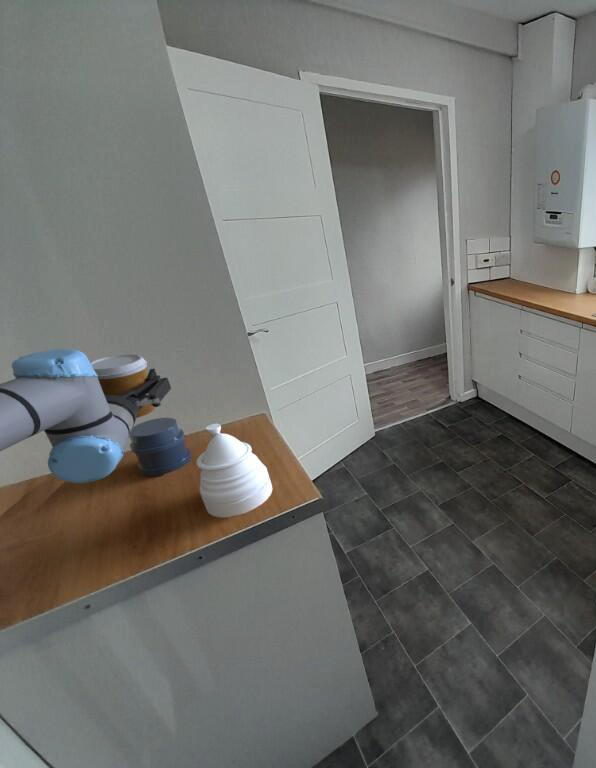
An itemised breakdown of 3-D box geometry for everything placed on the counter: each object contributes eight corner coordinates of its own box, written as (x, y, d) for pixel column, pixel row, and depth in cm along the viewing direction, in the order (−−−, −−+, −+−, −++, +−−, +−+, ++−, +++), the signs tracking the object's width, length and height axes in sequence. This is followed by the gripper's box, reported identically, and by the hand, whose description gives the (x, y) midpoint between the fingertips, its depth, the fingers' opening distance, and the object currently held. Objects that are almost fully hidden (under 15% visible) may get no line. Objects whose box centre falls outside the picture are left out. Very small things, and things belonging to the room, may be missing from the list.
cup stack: (132, 479, 98) (115, 440, 93) (152, 456, 107) (137, 419, 102) (183, 472, 101) (169, 433, 96) (198, 450, 110) (186, 414, 106)
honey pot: (196, 501, 91) (168, 433, 83) (255, 472, 101) (235, 408, 93) (222, 526, 85) (194, 454, 77) (283, 492, 94) (264, 426, 86)
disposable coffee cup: (95, 418, 86) (71, 365, 81) (146, 399, 94) (127, 350, 89) (124, 427, 83) (100, 373, 78) (173, 407, 91) (155, 357, 86)
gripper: (30, 456, 68) (69, 404, 85) (185, 425, 79) (192, 384, 96) (8, 417, 65) (53, 371, 82) (173, 389, 76) (182, 354, 93)
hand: (128, 378), depth 89 cm, fingers closed on disposable coffee cup, 8 cm apart
